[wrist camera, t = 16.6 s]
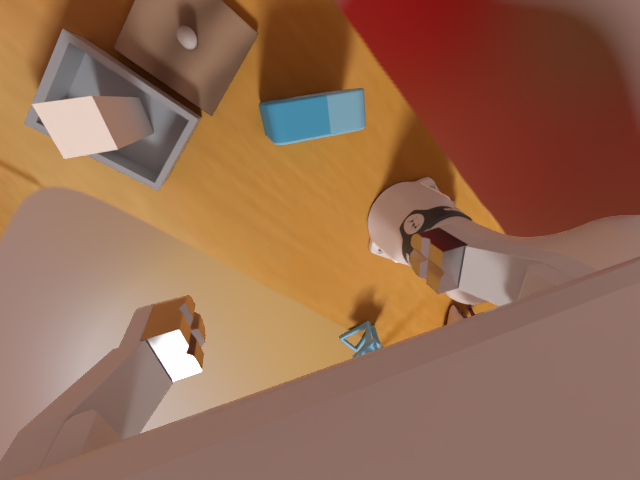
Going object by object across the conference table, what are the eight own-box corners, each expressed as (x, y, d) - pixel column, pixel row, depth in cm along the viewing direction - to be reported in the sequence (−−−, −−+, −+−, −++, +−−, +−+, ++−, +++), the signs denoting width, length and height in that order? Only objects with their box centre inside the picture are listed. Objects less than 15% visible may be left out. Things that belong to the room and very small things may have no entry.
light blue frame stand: (378, 329, 70) (404, 368, 60) (354, 349, 71) (376, 390, 61) (363, 315, 66) (388, 354, 56) (338, 336, 67) (358, 379, 57)
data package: (334, 90, 42) (368, 87, 31) (337, 121, 44) (370, 128, 34) (257, 102, 39) (267, 103, 29) (264, 135, 42) (276, 146, 31)
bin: (201, 117, 38) (198, 119, 34) (165, 181, 40) (158, 191, 36) (85, 38, 31) (62, 28, 27) (49, 120, 34) (23, 123, 29)
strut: (139, 97, 35) (91, 95, 23) (154, 133, 37) (118, 149, 25) (101, 102, 34) (31, 103, 22) (119, 139, 36) (64, 158, 24)
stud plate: (257, 36, 36) (260, 29, 32) (212, 115, 38) (210, 117, 35) (163, -50, 30) (155, -70, 27) (117, 50, 33) (104, 44, 29)
